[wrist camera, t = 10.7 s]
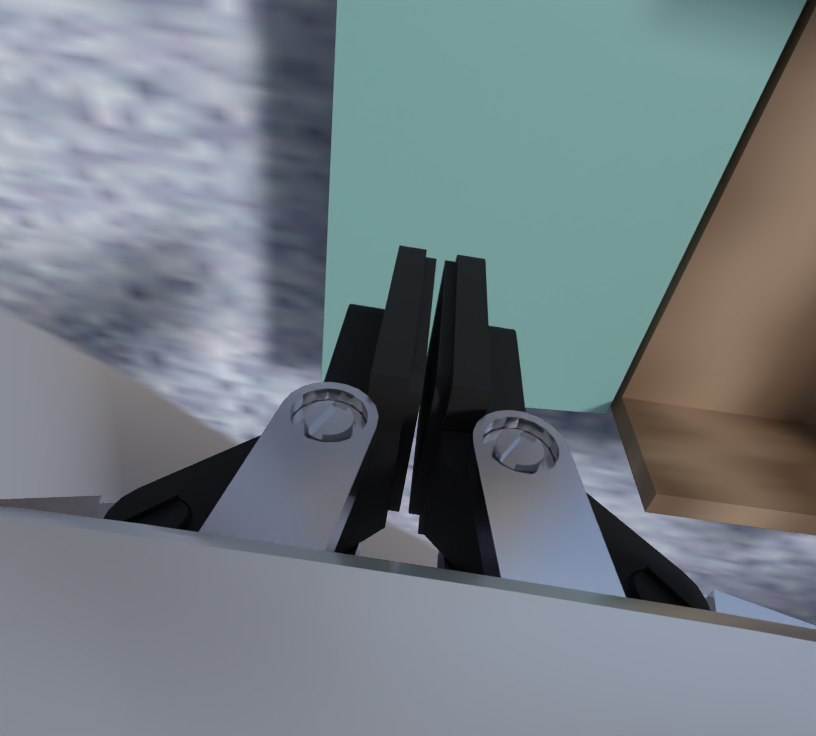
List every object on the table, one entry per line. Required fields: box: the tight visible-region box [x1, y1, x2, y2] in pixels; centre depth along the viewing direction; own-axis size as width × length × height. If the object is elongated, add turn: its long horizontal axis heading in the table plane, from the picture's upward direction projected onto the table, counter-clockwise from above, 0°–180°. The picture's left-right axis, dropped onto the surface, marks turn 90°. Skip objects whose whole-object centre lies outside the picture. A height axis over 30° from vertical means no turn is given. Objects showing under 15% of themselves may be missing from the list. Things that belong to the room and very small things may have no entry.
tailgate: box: [321, 0, 807, 414], centre depth 18 cm, size 1×18×12 cm
